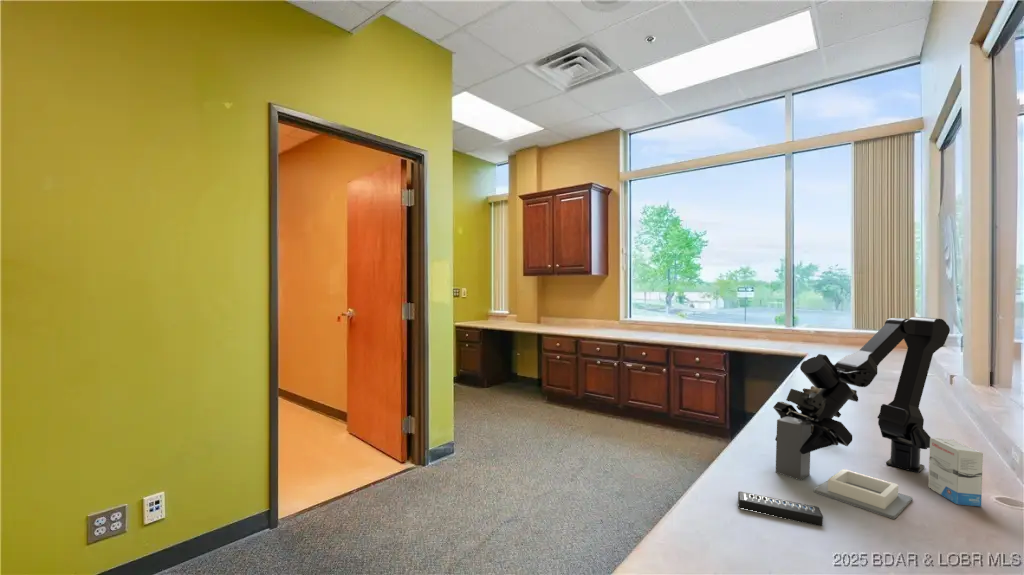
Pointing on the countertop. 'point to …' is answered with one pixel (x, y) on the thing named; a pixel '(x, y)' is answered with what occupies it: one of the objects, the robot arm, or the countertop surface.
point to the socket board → (865, 493)
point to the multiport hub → (781, 508)
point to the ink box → (955, 471)
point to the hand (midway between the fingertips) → (788, 446)
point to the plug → (792, 447)
